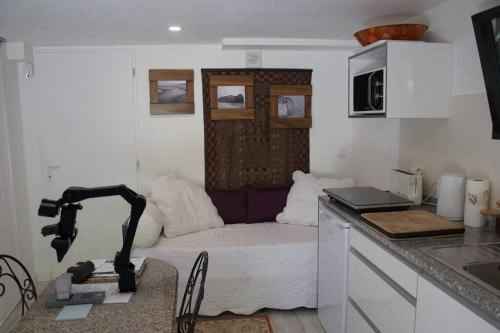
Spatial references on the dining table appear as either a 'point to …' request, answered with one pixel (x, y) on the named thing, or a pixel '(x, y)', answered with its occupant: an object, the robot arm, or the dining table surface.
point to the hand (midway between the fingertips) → (62, 258)
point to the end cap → (81, 271)
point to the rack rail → (77, 299)
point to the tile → (74, 312)
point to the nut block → (64, 288)
